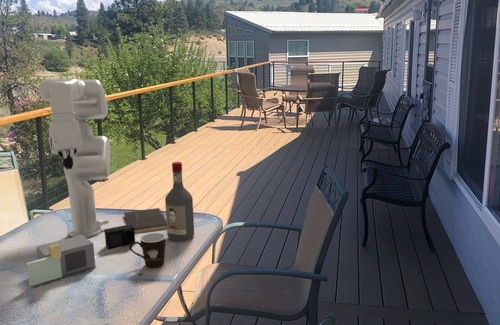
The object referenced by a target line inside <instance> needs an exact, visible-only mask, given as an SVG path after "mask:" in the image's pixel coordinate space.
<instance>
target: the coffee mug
mask: <svg viewBox="0 0 500 325" xmlns="http://www.w3.org/2000/svg"><path fill="white" fill-rule="evenodd" d="M166 239H167V237H166V235H165V234H164V233H162V232H150V233H146V234H143V235H142V236H141V237H140V239H139V240H140V241H139V242H138V241H135V242H133V243H131V245H129V250H130V251H131V252H132V253H133V254H135V255H136V256H138V257H139V258H142V259H143V260H144V264H145V267H146V268H148V269H159V268H161V267H164V266H165V258H166V254H165V253H166ZM133 244H134V245H139V246H140V248H141V250H142V254H139V253H137V252H135V250H133V248H132V246H133Z"/></svg>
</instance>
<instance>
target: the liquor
mask: <svg viewBox="0 0 500 325" xmlns="http://www.w3.org/2000/svg"><path fill="white" fill-rule="evenodd" d="M171 166H172V169H171V170H172V179H173V180H172V181H173V185H172V187H171V190H170V191H169V192H168V193H167V194H166V195H165V198H164V199H165V200H164V202H165V204H164V205H165V216H166V217H165V218H166V221H167V229H166V234H167V237H168V240H170V241H173V240H174V241H175V242H178V243H179V242H180V241H182V242H186V240H187V241H189V240H190V239H191V237H192V238H193V237H194V236H195V222H194V219H195V218H194V204H193V203H194V201H193V200H194V199H193V196H192V194H191V192H189V191H188V190H187V189H186V188H185V187H184V183H183V163H182V162H181V161H173V162H171ZM189 238H190V239H189ZM188 239H189V240H188Z"/></svg>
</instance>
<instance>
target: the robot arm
mask: <svg viewBox="0 0 500 325" xmlns="http://www.w3.org/2000/svg"><path fill="white" fill-rule="evenodd" d="M38 93H39V96H40V98H41V99H42V100H43V101H45V102H49V103H50V105H49V106H50V112H51V121H50V122H49V126H48V127H49V128H48V139H49V140H48V142H49V148H50V149H51V150H50V153H51V154H52V155H59V156H60V157H61V158H62V165H63V172H64V176H65V179H66V184H67V188H68V197H69V198H68V199H69V205H70V206H69V207H70V216H71V224H72V225H71V226H72V228H70V230H69V231H68V235H69V236H70V238H72V237H76V236H80V235H83V236H84V237H86V238H91V237H95V236H97V235H99V234H101V232H102V226H105V225H109V219H103V218H101V219H98V218H97V213H96V211H97V210H96V200H95V199H96V198H95V191H94V188H93V186H92V184H90V183H89V182H88V181H93V180H94V181H95V180H96V181H98V180H105V179H107V178H108V177H109V176H110V172H111V159H112V158H111V154H112V150H111V142H110V140H109V138H108V137H106V136H103V135H93V134H94V130H93V129H92V127H91V126H90V125H89V124H87V122H86V121H84V120H100V119H105V118H106V117H107V116H108V113H109V107H108V103H107V97H106V93H105V89H104V86H103V84H102V82H101V81H100V80H98V79H76V78H56V79H55V78H52V79H51V78H50V79H49V78H48V79H43V80H41V81H40V83H39V86H38Z"/></svg>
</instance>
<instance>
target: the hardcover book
mask: <svg viewBox="0 0 500 325" xmlns="http://www.w3.org/2000/svg"><path fill="white" fill-rule="evenodd" d="M123 215H124V217H125V219H126V222H127V225H130V224H131V225H132V226H133V227H134V232H135V234H139V233H143V232H144V233H146V232H151V231H158V230H164V229H165V230H167V229H166V228H167V221H166V217H165V215H164V214H163V212H162V210H161V209H160V208H159V207H157V208H156V207H155V208H147V209H140V210H133V211H126V212H125V211H124V212H123Z"/></svg>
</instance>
